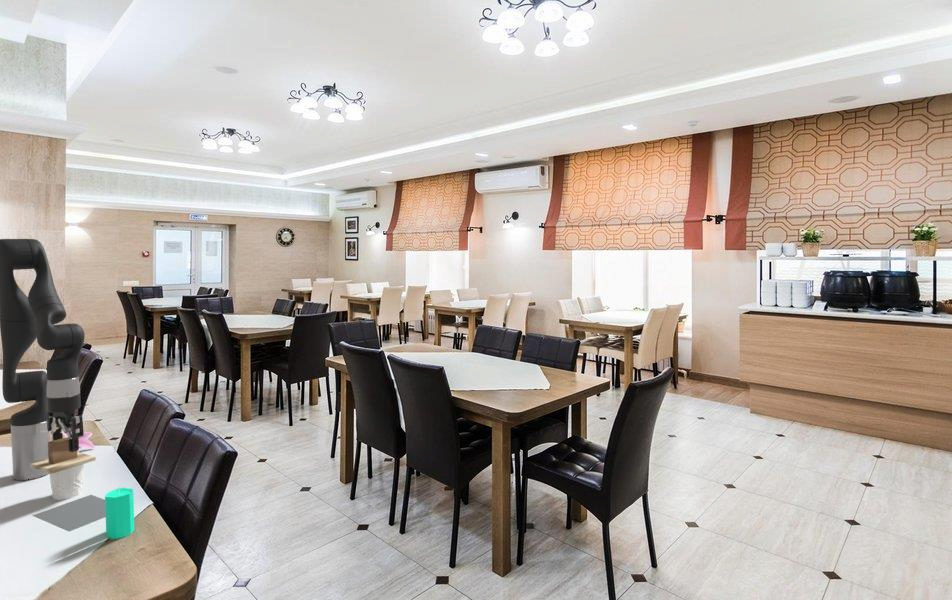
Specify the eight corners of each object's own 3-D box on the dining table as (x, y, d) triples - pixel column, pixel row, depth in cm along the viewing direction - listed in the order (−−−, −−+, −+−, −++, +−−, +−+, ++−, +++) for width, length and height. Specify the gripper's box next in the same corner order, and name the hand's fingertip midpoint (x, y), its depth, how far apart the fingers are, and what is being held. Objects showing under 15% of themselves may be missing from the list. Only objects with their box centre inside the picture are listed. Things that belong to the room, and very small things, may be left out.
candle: (120, 540, 126) (118, 492, 126) (99, 537, 128) (98, 490, 127) (140, 528, 132) (139, 482, 132) (121, 525, 134) (119, 480, 133)
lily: (51, 462, 177) (64, 439, 177) (45, 442, 184) (57, 419, 184) (91, 463, 187) (103, 440, 186) (84, 443, 194) (95, 422, 193)
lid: (30, 466, 146) (29, 442, 146) (73, 454, 156) (72, 431, 156) (52, 473, 141) (50, 448, 141) (95, 460, 151) (94, 436, 151)
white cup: (63, 490, 154) (61, 457, 153) (91, 490, 154) (89, 457, 154) (43, 502, 146) (41, 468, 145) (72, 502, 146) (71, 467, 146)
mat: (32, 517, 137) (32, 515, 137) (90, 496, 150) (90, 494, 150) (69, 533, 129) (69, 531, 129) (127, 509, 142) (127, 508, 142)
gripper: (35, 393, 148) (37, 448, 149) (61, 399, 141) (64, 457, 142) (65, 388, 154) (67, 440, 156) (92, 393, 148) (94, 448, 149)
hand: (65, 448), depth 149 cm, fingers open, 8 cm apart
